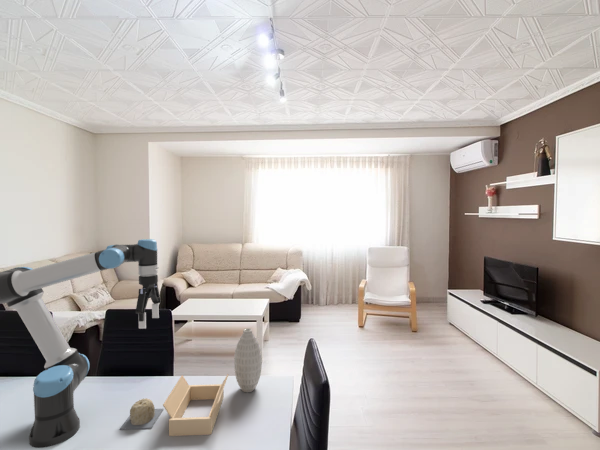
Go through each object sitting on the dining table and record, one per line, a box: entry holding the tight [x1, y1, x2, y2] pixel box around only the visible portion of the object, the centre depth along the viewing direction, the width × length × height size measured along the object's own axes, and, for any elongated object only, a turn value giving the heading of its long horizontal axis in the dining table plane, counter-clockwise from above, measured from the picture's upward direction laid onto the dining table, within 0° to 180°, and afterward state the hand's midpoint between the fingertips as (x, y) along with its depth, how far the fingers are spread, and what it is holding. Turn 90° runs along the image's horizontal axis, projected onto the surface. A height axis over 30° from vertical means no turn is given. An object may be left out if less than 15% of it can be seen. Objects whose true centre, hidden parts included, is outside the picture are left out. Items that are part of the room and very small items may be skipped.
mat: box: [119, 408, 164, 431], centre depth 129 cm, size 12×12×1 cm
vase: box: [233, 328, 263, 393], centre depth 150 cm, size 13×13×28 cm
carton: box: [162, 373, 230, 437], centre depth 131 cm, size 20×24×11 cm
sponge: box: [129, 397, 156, 425], centre depth 129 cm, size 9×10×10 cm
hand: (149, 322), depth 141 cm, fingers open, 13 cm apart
